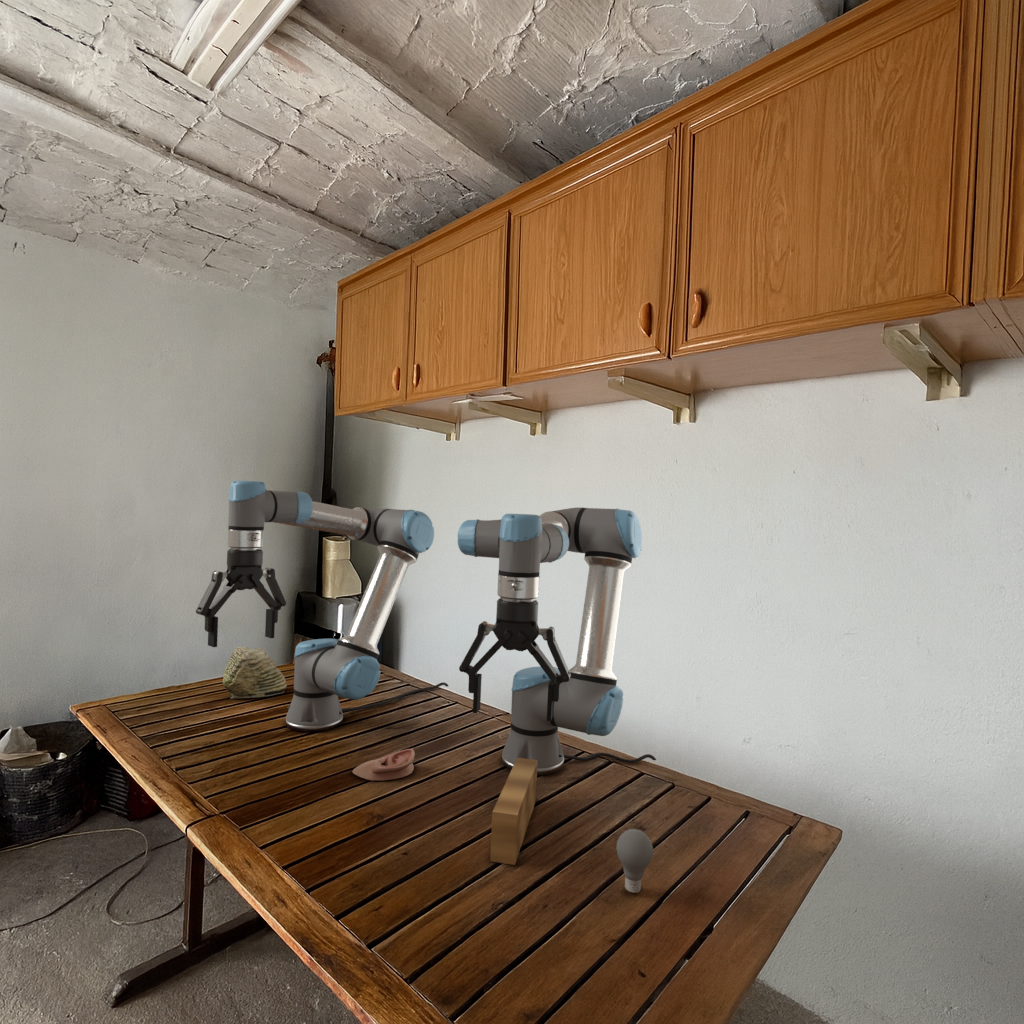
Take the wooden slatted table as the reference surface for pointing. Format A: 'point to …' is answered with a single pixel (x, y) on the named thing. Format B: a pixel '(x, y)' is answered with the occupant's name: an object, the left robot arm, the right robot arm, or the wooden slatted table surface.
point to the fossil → (252, 674)
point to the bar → (513, 811)
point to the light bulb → (634, 857)
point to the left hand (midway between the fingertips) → (242, 641)
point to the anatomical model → (387, 766)
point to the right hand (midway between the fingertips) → (512, 714)
